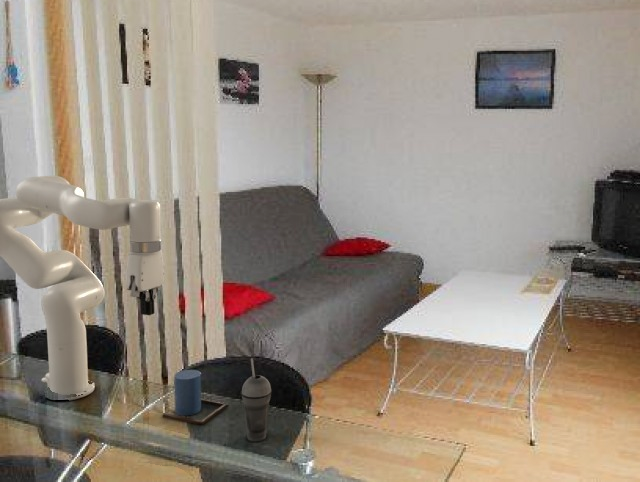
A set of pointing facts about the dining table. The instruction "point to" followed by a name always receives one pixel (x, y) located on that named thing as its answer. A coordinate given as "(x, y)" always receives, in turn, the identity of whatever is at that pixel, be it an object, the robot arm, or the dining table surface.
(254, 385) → the beverage cup
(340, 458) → the dining table surface
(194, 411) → the can
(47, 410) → the dining table surface
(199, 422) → the frame
